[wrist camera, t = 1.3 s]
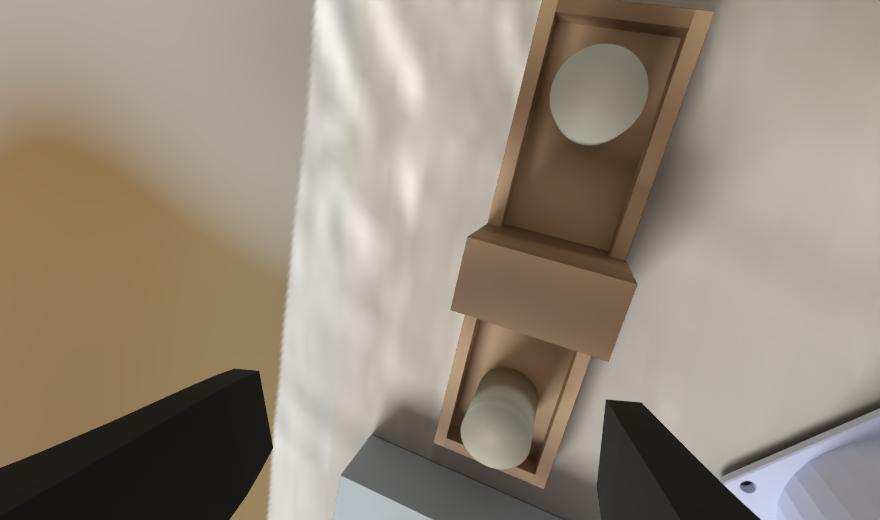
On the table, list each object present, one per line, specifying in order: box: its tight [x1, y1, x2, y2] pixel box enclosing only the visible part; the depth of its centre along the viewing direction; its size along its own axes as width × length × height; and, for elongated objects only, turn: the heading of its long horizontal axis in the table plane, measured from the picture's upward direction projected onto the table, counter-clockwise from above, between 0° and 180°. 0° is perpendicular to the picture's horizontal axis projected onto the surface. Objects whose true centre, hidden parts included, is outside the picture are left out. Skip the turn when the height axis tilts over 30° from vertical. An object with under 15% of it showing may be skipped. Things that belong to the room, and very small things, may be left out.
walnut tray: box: [434, 0, 714, 489], centre depth 15 cm, size 18×5×5 cm, turn 167°
